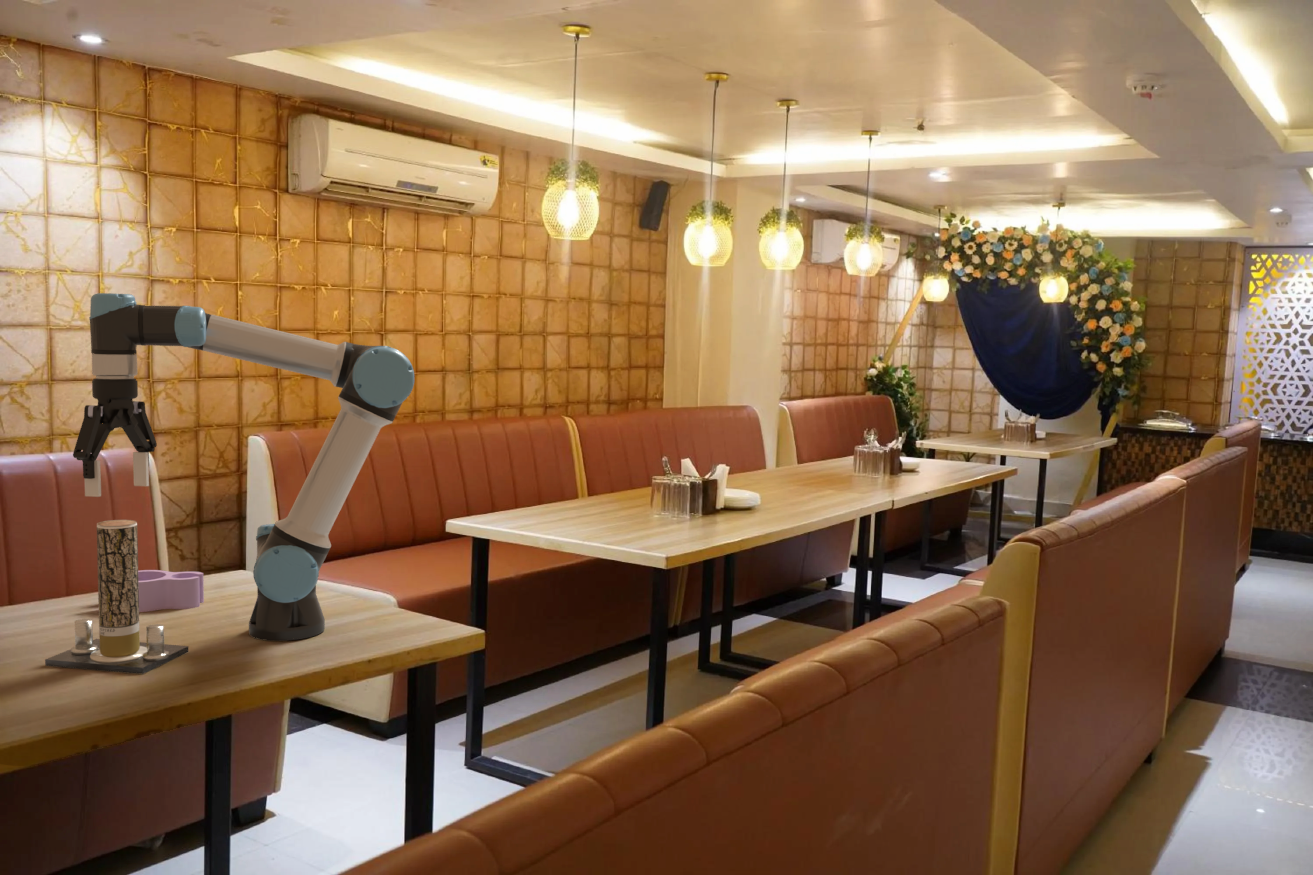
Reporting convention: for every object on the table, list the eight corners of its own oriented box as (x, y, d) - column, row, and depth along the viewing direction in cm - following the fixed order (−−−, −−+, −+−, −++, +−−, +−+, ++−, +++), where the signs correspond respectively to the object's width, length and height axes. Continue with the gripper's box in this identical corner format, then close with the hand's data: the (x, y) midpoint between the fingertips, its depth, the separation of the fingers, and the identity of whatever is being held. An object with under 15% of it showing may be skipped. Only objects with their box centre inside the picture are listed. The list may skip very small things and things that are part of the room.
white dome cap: (160, 648, 206) (160, 647, 206) (126, 664, 196) (126, 662, 196) (113, 645, 207) (113, 643, 207) (77, 660, 198) (77, 658, 198)
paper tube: (123, 659, 198) (120, 527, 195) (91, 656, 199) (88, 524, 197) (147, 649, 204) (145, 521, 202) (116, 646, 206) (113, 518, 203)
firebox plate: (188, 652, 208) (188, 646, 208) (142, 674, 194) (142, 667, 194) (96, 644, 211) (96, 638, 211) (45, 665, 198) (45, 659, 198)
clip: (208, 598, 250) (207, 569, 250) (194, 611, 238) (194, 581, 237) (117, 599, 247) (116, 570, 246) (98, 613, 235) (98, 582, 234)
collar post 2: (173, 654, 202) (172, 624, 202) (159, 661, 198) (158, 630, 197) (152, 653, 203) (151, 622, 202) (137, 659, 199) (137, 628, 198)
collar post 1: (102, 649, 205) (101, 618, 204) (86, 655, 200) (85, 624, 200) (82, 647, 205) (81, 617, 205) (65, 653, 201) (65, 622, 200)
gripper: (139, 374, 210) (142, 481, 212) (47, 379, 185) (51, 499, 187) (174, 375, 208) (176, 482, 210) (86, 380, 184) (90, 501, 186)
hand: (118, 491), depth 199 cm, fingers open, 13 cm apart
